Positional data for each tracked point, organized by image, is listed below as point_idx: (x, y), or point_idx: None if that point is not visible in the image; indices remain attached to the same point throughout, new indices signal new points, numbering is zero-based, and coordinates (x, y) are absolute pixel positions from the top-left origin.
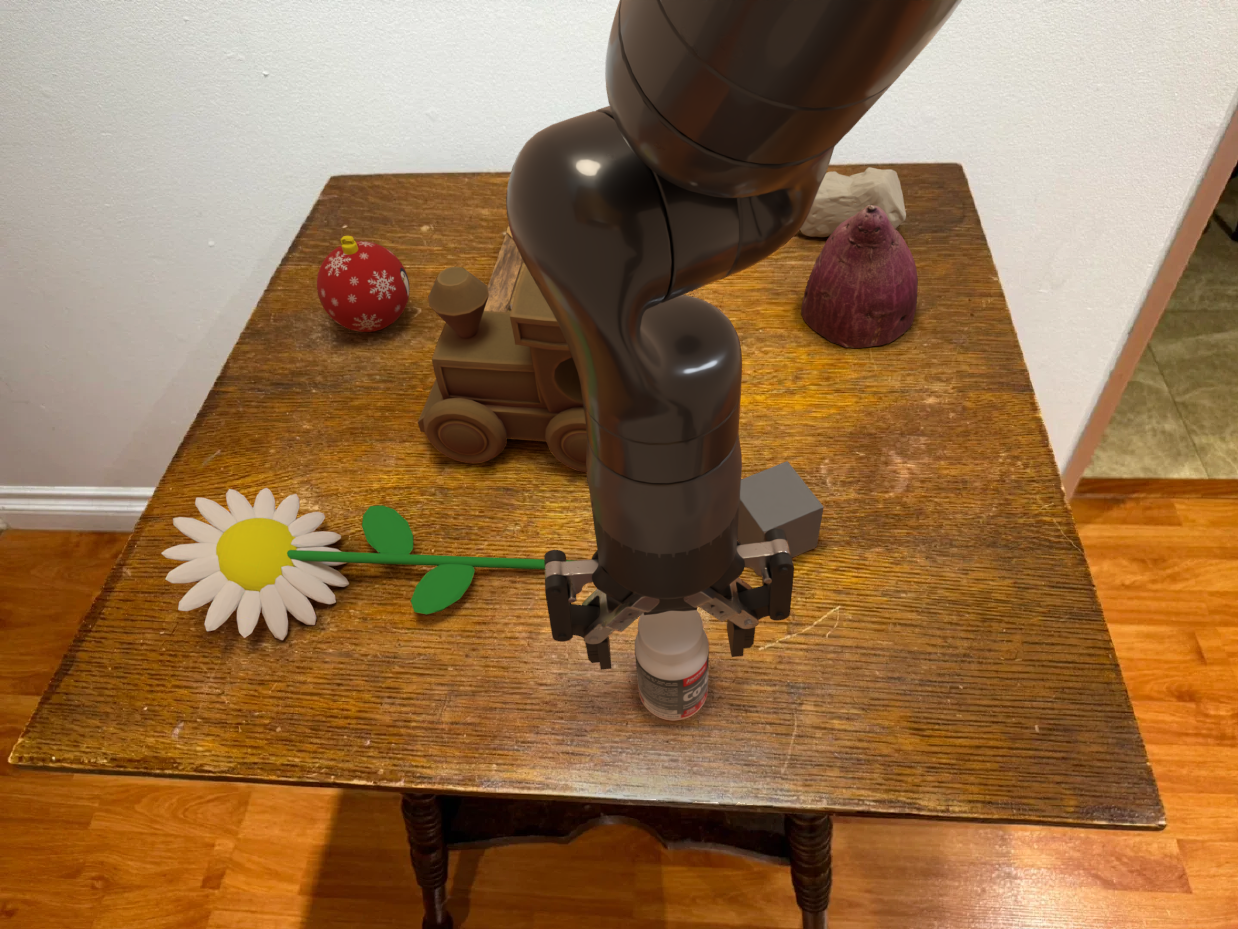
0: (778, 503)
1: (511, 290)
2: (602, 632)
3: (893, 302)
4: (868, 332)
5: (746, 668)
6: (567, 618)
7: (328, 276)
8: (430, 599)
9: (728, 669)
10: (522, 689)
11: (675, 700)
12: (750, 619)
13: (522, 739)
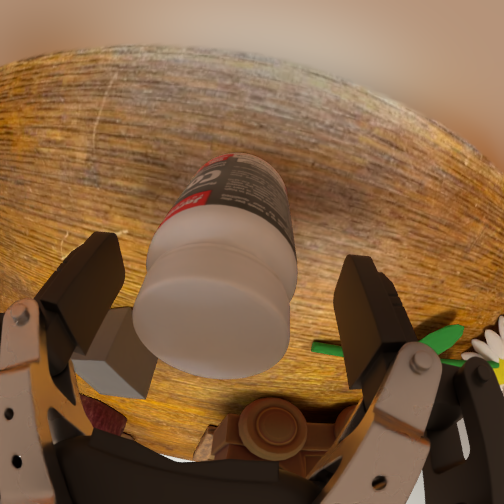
0: (97, 375)
1: None
2: (407, 390)
3: None
4: (85, 406)
5: (141, 210)
6: (491, 449)
7: None
8: (450, 336)
9: (162, 212)
10: (416, 238)
11: (235, 172)
12: (8, 327)
13: (436, 181)
